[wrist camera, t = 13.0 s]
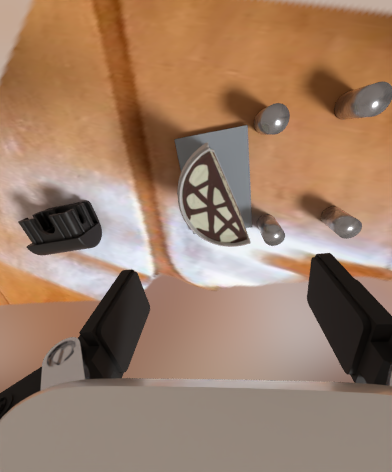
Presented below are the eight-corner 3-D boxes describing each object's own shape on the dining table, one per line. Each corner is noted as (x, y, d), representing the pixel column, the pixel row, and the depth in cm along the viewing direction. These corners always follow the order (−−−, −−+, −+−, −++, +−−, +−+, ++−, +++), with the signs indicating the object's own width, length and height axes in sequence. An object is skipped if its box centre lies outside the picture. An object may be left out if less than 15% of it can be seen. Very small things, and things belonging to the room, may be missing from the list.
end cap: (63, 242, 39) (36, 262, 33) (44, 209, 36) (9, 224, 30) (108, 235, 37) (88, 254, 31) (91, 199, 34) (65, 213, 28)
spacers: (363, 88, 24) (396, 78, 19) (339, 222, 32) (359, 237, 27) (253, 111, 26) (261, 106, 21) (257, 231, 34) (263, 246, 29)
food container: (171, 160, 29) (152, 172, 20) (209, 139, 27) (206, 142, 18) (207, 229, 33) (204, 264, 25) (242, 215, 32) (252, 246, 23)
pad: (246, 125, 27) (247, 125, 26) (251, 224, 33) (252, 227, 32) (175, 139, 28) (174, 139, 27) (193, 231, 35) (193, 233, 34)
